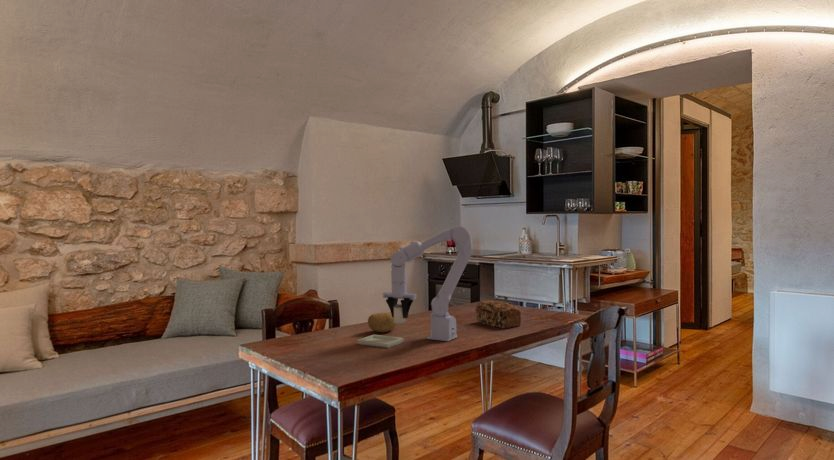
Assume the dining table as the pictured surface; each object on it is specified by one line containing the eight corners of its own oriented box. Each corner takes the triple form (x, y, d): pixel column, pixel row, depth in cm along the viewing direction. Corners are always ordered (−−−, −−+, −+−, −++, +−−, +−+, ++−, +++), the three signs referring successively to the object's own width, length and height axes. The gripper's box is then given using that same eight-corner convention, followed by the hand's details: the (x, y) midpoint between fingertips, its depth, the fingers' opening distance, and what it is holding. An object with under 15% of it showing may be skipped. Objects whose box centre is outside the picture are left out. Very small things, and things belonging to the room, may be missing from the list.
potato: (404, 331, 207) (404, 311, 207) (375, 336, 198) (375, 316, 198) (391, 327, 215) (390, 309, 214) (363, 332, 206) (362, 313, 206)
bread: (475, 322, 221) (474, 300, 221) (493, 319, 226) (493, 297, 226) (503, 329, 205) (502, 305, 205) (522, 326, 210) (521, 302, 210)
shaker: (408, 321, 193) (407, 304, 192) (401, 323, 189) (400, 306, 189) (398, 320, 195) (397, 303, 195) (391, 322, 191) (391, 305, 191)
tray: (403, 342, 187) (403, 338, 187) (388, 348, 178) (387, 343, 178) (373, 338, 194) (373, 334, 194) (357, 344, 186) (357, 339, 186)
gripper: (377, 282, 192) (378, 317, 192) (408, 284, 184) (409, 320, 185) (388, 280, 198) (389, 314, 198) (419, 281, 190) (419, 317, 191)
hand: (399, 317), depth 192 cm, fingers closed on shaker, 5 cm apart
